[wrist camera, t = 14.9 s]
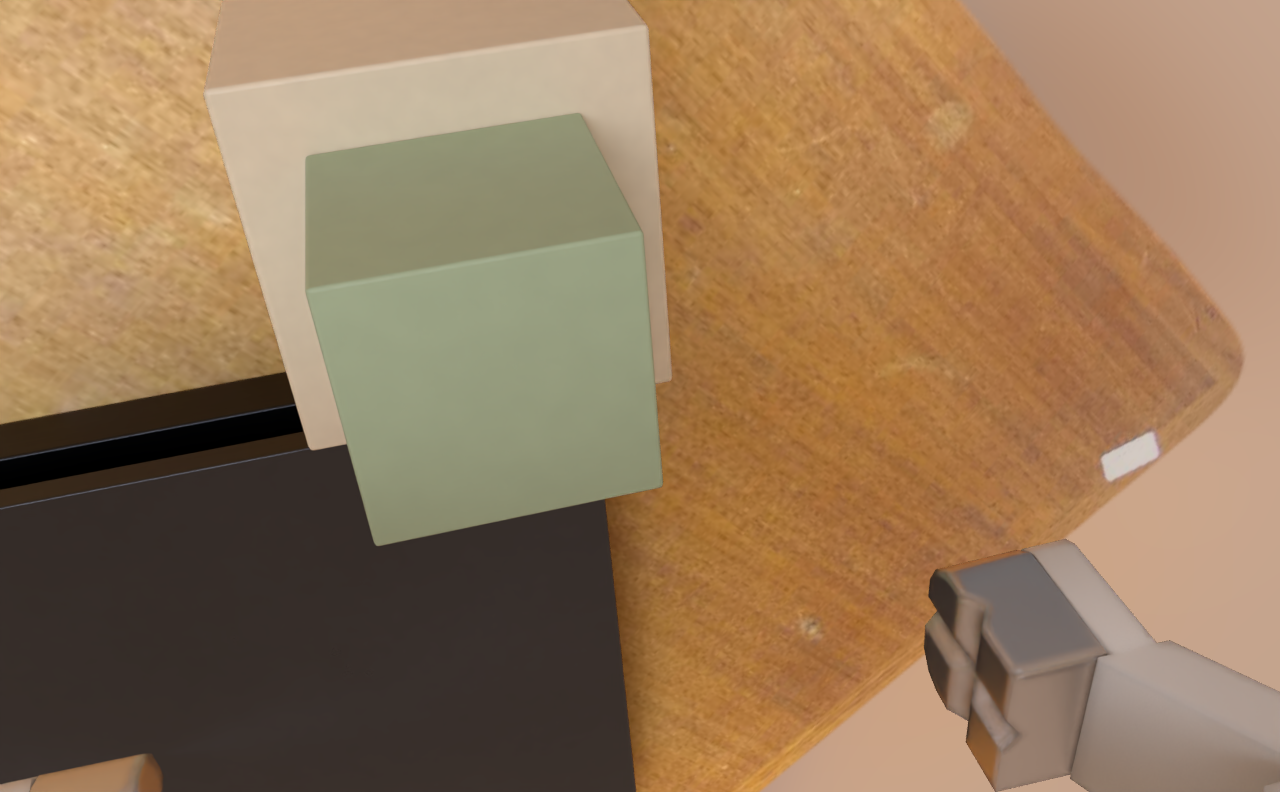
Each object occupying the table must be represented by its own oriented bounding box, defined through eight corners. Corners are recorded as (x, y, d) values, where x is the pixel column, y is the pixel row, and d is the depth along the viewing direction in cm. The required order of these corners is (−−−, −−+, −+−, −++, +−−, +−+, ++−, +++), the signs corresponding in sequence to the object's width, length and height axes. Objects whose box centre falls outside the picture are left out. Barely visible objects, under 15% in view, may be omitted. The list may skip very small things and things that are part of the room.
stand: (533, -124, 28) (649, 24, 19) (564, 147, 32) (673, 382, 23) (237, -86, 27) (200, 90, 18) (308, 188, 31) (309, 453, 22)
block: (581, 111, 19) (644, 230, 16) (605, 340, 22) (664, 488, 18) (304, 154, 19) (304, 290, 15) (362, 385, 21) (374, 549, 18)
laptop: (-539, 523, 31) (-582, 570, 30) (568, 319, 36) (579, 351, 34) (-155, 963, 44) (-172, 1012, 42) (625, 773, 48) (635, 812, 47)
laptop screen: (-610, 602, 29) (-631, 630, 28) (587, 374, 33) (594, 392, 32) (-170, 1009, 43) (-178, 1035, 42) (635, 810, 47) (640, 830, 46)
